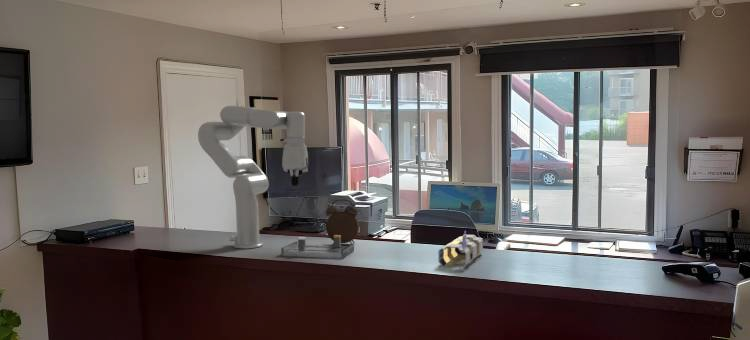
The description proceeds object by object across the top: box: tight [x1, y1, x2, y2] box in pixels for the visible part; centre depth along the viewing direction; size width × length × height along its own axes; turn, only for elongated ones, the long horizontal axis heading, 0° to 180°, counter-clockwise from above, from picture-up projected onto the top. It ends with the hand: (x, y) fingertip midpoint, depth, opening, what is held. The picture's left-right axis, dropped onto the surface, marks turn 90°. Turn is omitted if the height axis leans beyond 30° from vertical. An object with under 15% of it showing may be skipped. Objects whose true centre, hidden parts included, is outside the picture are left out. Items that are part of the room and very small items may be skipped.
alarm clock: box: [325, 198, 360, 245], centre depth 241 cm, size 15×7×20 cm, turn 84°
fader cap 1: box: [297, 236, 306, 250], centre depth 221 cm, size 2×2×5 cm
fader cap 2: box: [333, 235, 342, 247], centre depth 225 cm, size 2×2×5 cm
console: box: [280, 241, 355, 260], centre depth 223 cm, size 26×14×3 cm, turn 75°
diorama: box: [438, 230, 484, 269], centre depth 208 cm, size 25×10×13 cm, turn 156°
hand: (295, 185), depth 229 cm, fingers closed
